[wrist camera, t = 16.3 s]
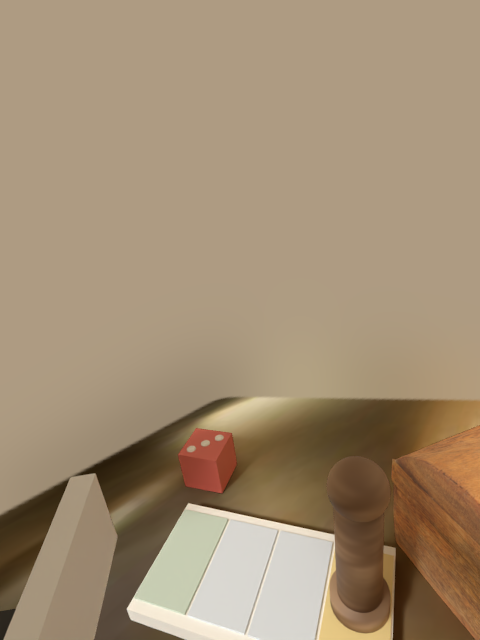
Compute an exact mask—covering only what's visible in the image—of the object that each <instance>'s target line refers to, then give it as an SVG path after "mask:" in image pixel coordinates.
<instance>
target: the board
mask: <svg viewBox="0 0 480 640" xmlns="http://www.w3.org/2000/svg"><path fill="white" fill-rule="evenodd" d="M395 561H396V548H393V547H389V546H384V549H383V578H384V579H385V581H386V582H387V584H388V587H389V590H390V597H391V599H390V615H389V618H388V621H387V622H386V624H385V625H384V626H383V627H382V628H381V629H379V630H378V631H376V632H373V633H358V632H355V631H352V630H350V629H348V628H347V627H345V626H344V625H343V624H342V623H341V622H340V621H339V620H338V619H337V618H336V616H335V614H334V613H333V610H332V608H331V603H330V589H329V585H330V579H331V577H332V575H333V573H334V572H335V571H336V559H335V537H334V535H333V534H329V533H324V532H319V531H315V530H310V529H305V528H301V527H296V526H291V525H287V524H282V523H278V522H273V521H268V520H264V519H259V518H254V517H250V516H245V515H240V514H236V513H231V512H227V511H222V510H217V509H213V508H208V507H203V506H199V505H194V504H189V503H188V505H187V506H186V508H185V510H184V512H183V513H182V515H181V517H180V518H179V520H178V522H177V524H176V525H175V527H174V529H173V530H172V532H171V534H170V536H169V537H168V539H167V541H166V543H165V544H164V546H163V548H162V549H161V551H160V553H159V555H158V556H157V558H156V560H155V561H154V563H153V565H152V567H151V568H150V570H149V572H148V574H147V575H146V577H145V579H144V580H143V582H142V584H141V586H140V587H139V589H138V591H137V592H136V594H135V596H134V598H133V599H132V601H131V603H130V605H129V606H128V608H127V611H128V614H129V616H130V619H131V620H133V621H135V622H138V623H141V624H144V625H147V626H149V627H152V628H155V629H158V630H161V631H164V632H166V633H169V634H172V635H175V636H178V637H180V638H183V639H186V640H393V617H394V589H395Z"/></svg>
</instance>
